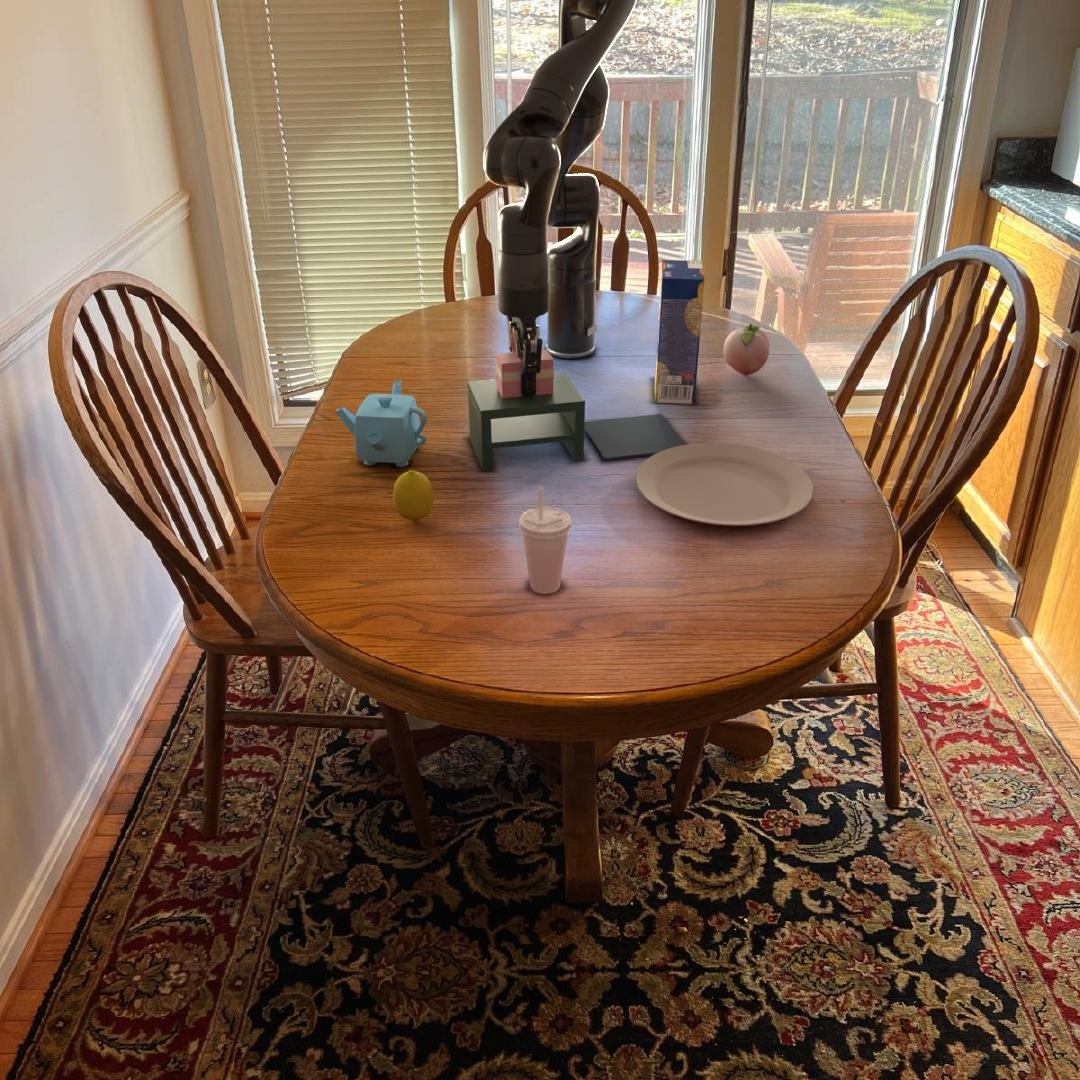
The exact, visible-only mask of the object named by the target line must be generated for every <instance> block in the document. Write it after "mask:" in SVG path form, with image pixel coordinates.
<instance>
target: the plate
mask: <svg viewBox="0 0 1080 1080" xmlns="http://www.w3.org/2000/svg"><path fill="white" fill-rule="evenodd" d="M635 484H636V487H637V490H638V491H639V492H640V494H641V495H642V496H643V497H644V498H645V499H646V500H647V501H648V502H650V503H651V504H652V505H654V506H655V507H657V508H659V509H660V510H663V511H665V512H667V513H669V514H671V515H674V516H676V517H680V518H683V519H686V520H689V521H693V522H699V523H703V524H707V525H714V526H728V527H738V526H739V527H740V526H741V527H742V526H756V525H763V524H770V523H774V522H778V521H781V520H785V519H787V518H790V517H792V516H794V515H796V514H798V513H799V512H801V511H802V510H803V509H805V508H806V507H807V506H808V505H809V504H810V502H811V500H812V498H813V496H814V484H813V482H812V480H811V478H810V477H809V475H808V474H807V472H806V471H804V470H803V469H802V468H801V467H800V466H799V465H797V464H796V463H794V462H793V461H791V460H790V459H787V458H785V457H783V456H781V455H779V454H777V453H774V452H771V451H769V450H765V449H761V448H758V447H754V446H748V445H744V444H743V445H742V444H735V443H726V442H725V443H724V442H698V443H689V444H685V445H682V446H677V447H673V448H669V449H666V450H663V451H661V452H658V453H656V454H654V455H652V456H648V458H646V459H645V460H644V461H643V462H642V463H641V464H640V466H639V467H638V468H637V471H636V473H635Z"/></svg>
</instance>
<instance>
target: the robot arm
mask: <svg viewBox="0 0 1080 1080" xmlns="http://www.w3.org/2000/svg"><path fill="white" fill-rule="evenodd" d="M636 3H637V0H558V22H557V23H558V25H557V26H558V29H557V30H558V31H557V50H555V51H554V52H552V53H551V54H550V55H548V56H547V57H546V58H545V59H544V60H543V61H542V62H541V64H540V65H539V66H538V67H537V69H536V71H535V73H534V75H533V77H532V79H531V81H530V83H529V85H528V87H527V89H526V91H525V93H524V96H523V98H522V100H521V102H519V103H518V105H517V106H516V107H515V108H514V109H513V110H512V111H511V112H510V113H509V115H508V116H507V117H505V119H504V120H503V121H502V122H501V123H500V124H499V125H498V127H497V128H496V129H495V130H494V131H493V133H492V134H491V136H490V138H489V139H488V141H487V143H486V145H485V148H484V151H483V158H482V159H483V160H482V161H483V163H482V164H483V170H484V172H485V176H486V178H487V179H488V180H489V181H490V182H491V183H492V184H495V185H497V186H500V187H506V188H515V189H524V190H526V195H525V198H524V201H523V202H518V203H511V204H508V205H504V206H503V207H501V209H500V210H499V212H498V216H497V217H498V218H497V225H498V226H497V231H498V232H497V233H498V235H497V236H498V255H497V267H496V268H497V302H498V304H497V305H498V311H499V312H500V314H501V315H503V316H505V317H506V319H507V330H508V345H509V347H508V349H509V353H511V352H516V357H517V358H519V360H520V372H521V394H522V396H523V397H528V396H534V395H535V394H536V373H540V370H541V354H542V350H543V342H544V341H543V339H542V338H541V337H540V336H541V329H540V325H537V319H538V318H539V317H541V316H542V317H543V316H544V315H545V314H546V349H547V351H548V352H549V354H550V355H551V357H556V358H559V359H560V358H561V359H567V360H569V359H581V358H586V357H589V356H591V355H592V354H594V353H595V347H596V346H595V333H597V323H595V322H596V287H597V286H596V283H597V281H596V280H597V278H596V274H597V251H598V250H597V248H598V232H599V231H598V230H599V216H600V204H601V203H600V202H601V192H600V185H599V182H598V179H597V177H596V176H595V175H594V174H591V173H578V174H577V173H573V174H569V171H570V169H571V167H572V166H573V165H574V164H575V162H576V161H578V160H579V158H581V156H583V154H584V153H585V152H587V150H589V148H590V147H592V146H593V144H594V142H595V141H596V140H597V139H598V137H600V134H601V133H602V131H603V129H604V126H605V121H606V116H607V109H608V104H609V98H610V87H609V82H608V80H607V76H606V73H605V71H604V69H603V67H602V64H601V62H602V61H603V59H604V58H605V57H606V55H607V53H608V52H609V51H610V49H611V47H612V46H613V44H614V43H615V42H616V40H617V38H618V37H619V35H620V34H621V32H622V30H623V29H624V27H625V26H626V24H627V22H628V21H629V18H630V17H631V14H632V12H634V11H633V10H634V8H635V5H636ZM587 20H589V21H591V22H594V23H593V24H592V25H591V27H589V28H587ZM548 228H550V229H568V228H569V229H571V228H577V229H576V231H575V232H574V233H573V234H572V235H570V236H568V237H567V238H565V239H563V240H562V241H559V242H556V243H555V244H552V245H551V246H549V248H548V242H549V241H548ZM522 351H524V352H523V353H522ZM529 362H533V365H528V363H529Z"/></svg>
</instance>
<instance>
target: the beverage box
mask: <svg viewBox="0 0 1080 1080" xmlns="http://www.w3.org/2000/svg"><path fill="white" fill-rule="evenodd" d="M660 265H661V267H660V282H659V283H660V284H659V297H658V298H659V299H658V316H657V318H658V319H657V334H656V335H657V336H656V351H655V352H656V354H655V368H654V369H655V370H654V371H655V372H654V403H656V404H657V403H658V404H660V403H661V404H663V403H664V404H686V405H687V404H689V405H691V404H693V405H695V401H696V390H697V379H698V378H697V377H698V366H699V365H698V364H699V354H700V341H701V329H702V316H703V315H702V314H703V306H704V305H703V303H704V291H705V280H706V279H705V273H704V267H703V261H702V260H685V259H683V260H682V259H661V264H660Z"/></svg>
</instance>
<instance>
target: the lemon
mask: <svg viewBox="0 0 1080 1080" xmlns="http://www.w3.org/2000/svg"><path fill="white" fill-rule="evenodd" d="M434 499H435V498H434V491H433V487H432V483H431V482H430V480H429V479H428V477H427V476H426V475H425V474H423V473H422V472H419V471H416V470H413V469H410V470H408V471H405V472H404V473H402V474H401V475H400V476H398V477H397V478H396V480H395V482H394V486H393V491H392V500H393V506H394V508H395V510H396V512H397V513H398V514H399V516H400V517H402V518H403V519H405V520H408V521H411V522H413V523H417V522H418V521H420V520H422V519H424V518H425V517H427V516H428V515H429V513H430V512H431V510H432V508H433V505H434Z"/></svg>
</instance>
